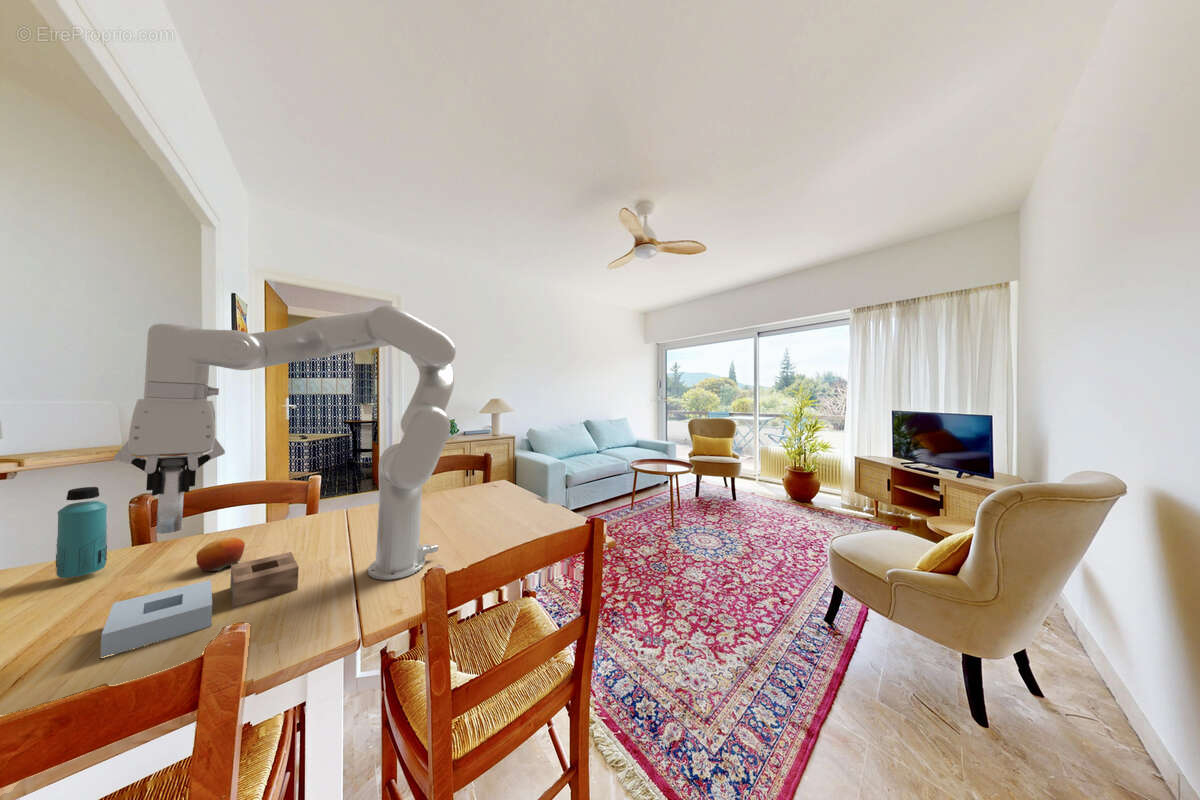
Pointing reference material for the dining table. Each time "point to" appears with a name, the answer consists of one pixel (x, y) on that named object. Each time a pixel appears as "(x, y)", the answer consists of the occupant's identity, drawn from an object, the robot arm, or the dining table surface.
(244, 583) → the block
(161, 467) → the pin
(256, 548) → the dining table surface
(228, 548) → the fruit
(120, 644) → the dock
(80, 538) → the beverage bottle
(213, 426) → the robot arm
